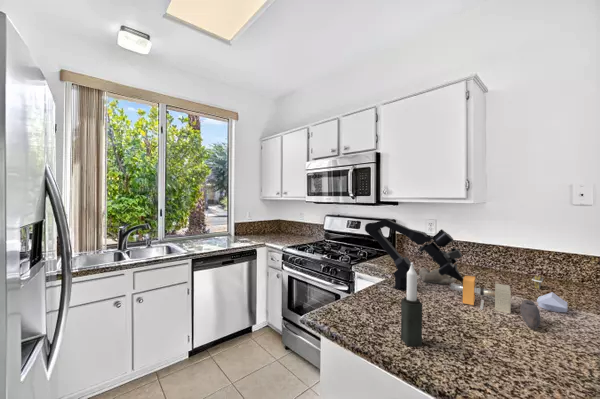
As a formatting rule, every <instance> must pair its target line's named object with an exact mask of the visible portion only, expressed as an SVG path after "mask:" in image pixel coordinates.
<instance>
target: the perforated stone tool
mask: <svg viewBox="0 0 600 399" xmlns="http://www.w3.org/2000/svg"><path fill="white" fill-rule="evenodd" d="M538 308H539V307H538V305H537V304H536V303H535V302H534V301H532V300H528V299H524V300H523V301H521V303H520V306H519V310H520V315H521V317H522V319H523V321H524V323H525V324H526V326H528V327H529V328H530V329H534V330H537V329H538V328H539V327H540V325H541V313H540V311H539V310H540V309H538Z"/></svg>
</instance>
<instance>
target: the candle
mask: <svg viewBox="0 0 600 399" xmlns="http://www.w3.org/2000/svg"><path fill="white" fill-rule="evenodd" d="M417 297H418V274H417V271H416V270H415V267H414V262H412V263H411V266H410V269H409V271H408V272H407V290H406V296H404V297H403V298H401V300H400V301H401V302H400V304H401V307H400V308H401V311H400V312H401V314H400V315H401V316H400V340H401V341H402V342H403V343H404V344H405V345H406V346H407V347H422V345H423V343H422V342H423V302H421V301H420V299H419V298H417Z"/></svg>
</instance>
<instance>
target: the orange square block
mask: <svg viewBox="0 0 600 399" xmlns="http://www.w3.org/2000/svg"><path fill="white" fill-rule="evenodd" d="M462 286H463V291H462V303H463V304H465V305H471V306H474V305H475V300H476V294H475V293H474V288H476V276H473V275H464V276H463V282H462Z"/></svg>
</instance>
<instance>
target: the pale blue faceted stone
mask: <svg viewBox="0 0 600 399" xmlns="http://www.w3.org/2000/svg"><path fill="white" fill-rule="evenodd" d="M536 303H537V307H540V308H541V309H545V310H546V311H547V310H548V311H552V312H557V313H567V312H568V301H565V299H563V298H561V297H560V296H558V295H557V294H556V293H554V292H553V291H551V292H549V293H546V294H544V295H540V296H538V298H537V299H536Z"/></svg>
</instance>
